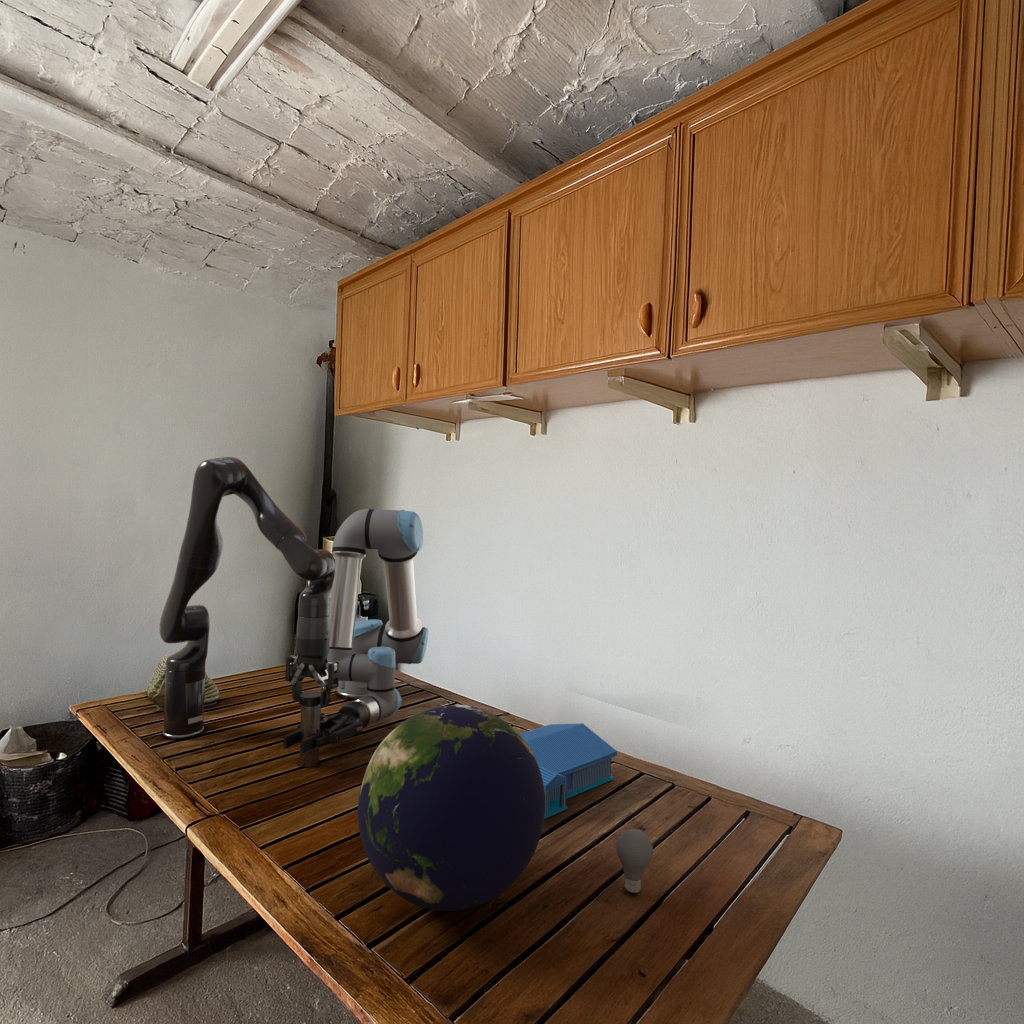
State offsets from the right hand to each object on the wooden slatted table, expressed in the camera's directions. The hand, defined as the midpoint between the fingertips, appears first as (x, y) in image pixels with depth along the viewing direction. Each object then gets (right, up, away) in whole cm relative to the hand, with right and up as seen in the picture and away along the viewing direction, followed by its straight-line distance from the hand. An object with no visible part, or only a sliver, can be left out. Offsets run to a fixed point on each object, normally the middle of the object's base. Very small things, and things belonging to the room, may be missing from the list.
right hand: (293, 744), depth 145 cm
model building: (+54, -9, -3) cm, 54 cm away
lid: (+3, +10, +5) cm, 11 cm away
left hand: (+3, +8, +5) cm, 10 cm away
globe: (+40, -9, -42) cm, 59 cm away
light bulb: (+70, -10, -39) cm, 81 cm away
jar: (+2, -6, +5) cm, 8 cm away
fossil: (-46, -3, +40) cm, 61 cm away
